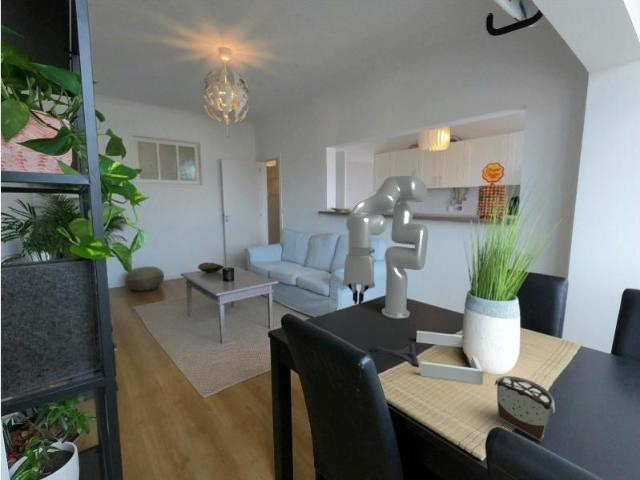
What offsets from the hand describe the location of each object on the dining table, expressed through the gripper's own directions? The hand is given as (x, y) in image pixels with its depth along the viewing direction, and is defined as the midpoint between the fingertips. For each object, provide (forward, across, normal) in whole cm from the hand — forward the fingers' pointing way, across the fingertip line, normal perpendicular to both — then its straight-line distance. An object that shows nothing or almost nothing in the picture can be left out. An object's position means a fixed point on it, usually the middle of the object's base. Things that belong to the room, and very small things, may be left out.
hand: (358, 302), depth 107 cm
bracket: (+18, -13, 0) cm, 22 cm away
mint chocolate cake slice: (+17, -44, +26) cm, 54 cm away
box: (+17, -29, 0) cm, 34 cm away
